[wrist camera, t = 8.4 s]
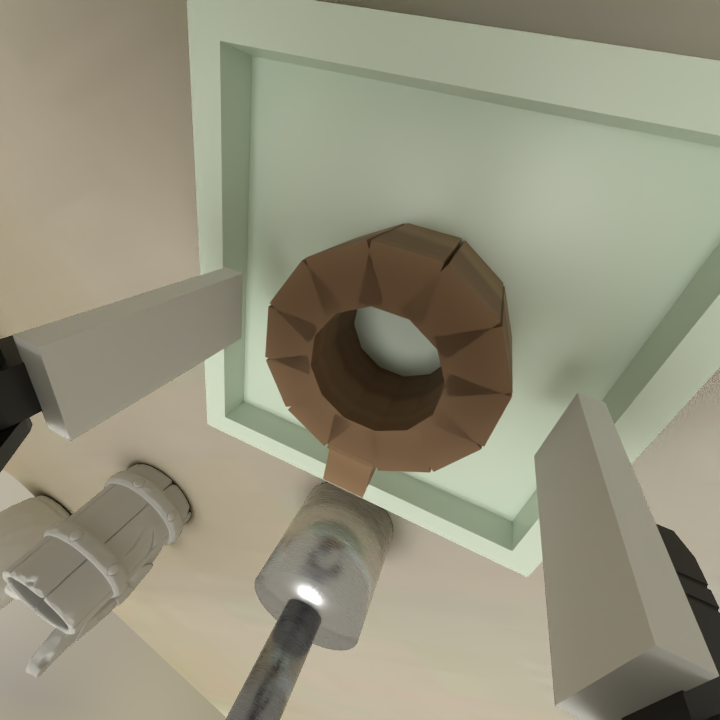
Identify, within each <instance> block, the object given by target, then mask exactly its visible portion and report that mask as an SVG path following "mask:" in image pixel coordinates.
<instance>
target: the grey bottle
mask: <svg viewBox="0 0 720 720" xmlns="http://www.w3.org/2000/svg"><path fill="white" fill-rule="evenodd" d="M392 535H393V526H392V522H391V520H390V517H389V516H388V514H387V512H386V511H385V510H384V509H383V508H381V507H379V506H377V505H375V504H373V503H371V502H369V501H367V500H365V499H363V498H360V497H358V496H356V495H354V494H352V493H350V492H348V491H346V490H344V489H342V488H340V487H337V486H335V485H333V484H331V483H329V482H328V483H323V484H320V485H318V486H316V487H315V488H314V489H313V490H312V491H311V493H310V494H309V496H308V497H307V499H306V501H305V502H304V504H303V505H302V507H301V508H300V510H299V512H298V513H297V515H296V516H295V518H294V520H293V521H292V523H291V524H290V526H289V527H288V529H287V531H286V532H285V534H284V535H283V537H282V538H281V540H280V542H279V543H278V545H277V546H276V548H275V550H274V551H273V553H272V554H271V556H270V557H269V559H268V561H267V562H266V564H265V565H264V567H263V569H262V570H261V572H260V573H259V575H258V576H257V578H256V580H255V591H256V594H257V596H258V598H259V600H260V602H261V603H262V605H263V606H264V607H265V608H266V610H267V611H268V612H269V613H270V614H271V615H272V616H273V617H274V618H275V619H276V620H277V623H276V624H275V626H274V628H273V630H272V632H271V634H270V636H269V638H268V640H267V642H266V644H265V645H264V647H263V649H262V651H261V653H260V655H259V657H258V659H257V661H256V663H255V664H254V666H253V668H252V670H251V672H250V674H249V676H248V678H247V680H246V682H245V684H244V685H243V687H242V689H241V691H240V693H239V695H238V697H237V699H236V701H235V703H234V705H233V706H232V708H231V710H230V712H229V714H228V716H227V718H226V720H280V718H281V716H282V714H283V711H284V709H285V707H286V704H287V702H288V700H289V697H290V695H291V693H292V690H293V688H294V685H295V683H296V681H297V678H298V676H299V674H300V671H301V669H302V667H303V664H304V662H305V660H306V657H307V655H308V652H309V650H310V648H311V645H312V643H313V644H315V645H318V646H321V647H324V648H327V649H332V650H348V649H351V648H353V647H354V646H355V645H356V644H357V642H358V639H359V636H360V633H361V630H362V627H363V624H364V621H365V618H366V615H367V611H368V608H369V605H370V602H371V599H372V596H373V593H374V590H375V587H376V584H377V581H378V578H379V575H380V572H381V569H382V566H383V563H384V560H385V557H386V554H387V551H388V548H389V545H390V542H391V538H392Z"/></svg>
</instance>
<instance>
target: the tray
mask: <svg viewBox="0 0 720 720" xmlns="http://www.w3.org/2000/svg"><path fill="white" fill-rule="evenodd" d="M187 17H188V38H189V58H190V78H191V98H192V118H193V139H194V159H195V179H196V199H197V220H198V240H199V260H200V275H203V274H206V273H209V272H212V271H215V270H218V269H222V268H225V267H226V268H229V269H232V270H235V271H237V272H240V273H243V291H242V338H241V339H239V340H238V341H236V342H234V343H233V344H231V345H229V346H228V347H226V348H224V349H223V350H221V351H219V352H218V353H216V354H214V355H213V356H211V357H209V358H208V359H206V360H204V361H205V381H206V401H207V422H208V425H210V426H212V427H214V428H216V429H218V430H220V431H222V432H225V433H227V434H229V435H231V436H233V437H235V438H237V439H239V440H241V441H243V442H245V443H248V444H250V445H252V446H254V447H256V448H258V449H260V450H262V451H264V452H266V453H268V454H271V455H273V456H275V457H277V458H279V459H281V460H283V461H285V462H287V463H289V464H291V465H294V466H296V467H298V468H300V469H302V470H304V471H306V472H308V473H310V474H312V475H314V476H317V477H319V478H321V479H323V476H324V472H325V467H326V462H327V458H328V453H329V449H328V448H327V446H328V444H326V445H325V446H324V445H323V444H322V443H321V442H320V441H319V440H318V439H317V438H316V437H315V436H314V435H313V434H312V433H311V432H310V431H309V430H308V429H307V428H306V427H305V426H304V425H303V424H302V423H301V422H300V421H299V420H298V419H297V418H296V417H295V416H294V415H293V414H292V413H291V412H290V411H289V410H288V409H289V408H290V407H291V406H290V407H286V406H285V404H284V402H283V399H282V397H281V395H280V392H279V390H278V388H277V385H276V383H275V381H274V378H273V376H272V374H271V371H270V369H269V367H268V364H267V362H266V360H267V359H268V358H267V357H265V351H266V335H267V319H268V306H270V305H271V304H270V302H271V300H272V299H273V298H274V296H275V295H276V294H277V292H278V291H279V290H280V288H281V287H282V286H283V284H284V283H285V282H286V281H287V279H288V278H289V277H290V275H291V274H292V273H293V271H294V270H295V269H296V267H297V266H298V265H299V263H300V262H301V261H302V260H303V259H305V258H306V257H309V256H311V255H314V254H316V253H319V252H321V251H324V250H326V249H329V248H331V247H334V246H336V245H339V244H341V243H344V242H346V241H349V240H351V239H354V238H357V237H360V236H363V235H367V234H370V233H373V232H377V231H380V230H383V229H387V228H390V227H393V226H396V225H400V224H403V223H405V224H407V223H410V224H413V225H417V226H420V227H424V228H427V229H431V230H434V231H438V232H441V233H445V234H448V235H452V236H455V237H459V238H462V240H461V243H460V245H461V244H462V243H463V242H464V241H466V242H467V243H468V244H469V245H470V246H471V247H472V248H473V250H474V251H475V252H476V253H477V254H478V255H479V256H480V257H481V258H482V260H483V261H484V262H485V263H486V264H487V265H488V266H489V267H490V269H491V270H492V271H493V272H494V273H495V274H496V275H497V276H498V278H499V279H500V280H501V281H502V282H503V286H505V291H506V298H507V305H508V312H509V319H510V326H511V333H512V375H513V393H512V398H511V400H510V402H509V403H508V405H507V407H506V409H505V411H504V412H503V414H502V416H501V418H500V419H499V421H498V423H497V425H496V427H495V428H494V430H493V432H492V434H491V436H490V437H489V439H488V441H487V443H486V445H485V446H482V449H481V450H479V451H477V452H475V453H472V454H470V455H468V456H466V457H464V458H462V459H460V460H458V461H456V462H454V463H452V464H449V465H447V466H445V467H443V468H441V469H439V470H437V471H435V472H434V471H433V470H432V469H431V472H430V473H428V472H402V471H378V469H377V468H376V470H375V472H374V474H373V476H372V478H371V481H370V483H369V485H368V487H367V489H366V491H365V494H364V496H363V499H365V500H367V501H369V502H371V503H373V504H375V505H377V506H379V507H381V508H383V509H386V510H388V511H390V512H392V513H394V514H396V515H398V516H400V517H402V518H404V519H406V520H409V521H411V522H413V523H415V524H417V525H419V526H421V527H423V528H425V529H427V530H429V531H432V532H434V533H436V534H438V535H440V536H442V537H444V538H446V539H448V540H450V541H452V542H454V543H457V544H459V545H461V546H463V547H465V548H467V549H469V550H471V551H473V552H475V553H477V554H480V555H482V556H484V557H486V558H488V559H490V560H492V561H494V562H496V563H498V564H500V565H503V566H505V567H507V568H509V569H511V570H513V571H515V572H517V573H519V574H521V575H523V576H526V577H528V576H529V575H530V574H531V573H532V572H533V571H534V569H535V568H536V567H537V566H538V565H539V564H540V563H541V562H542V561H543V558H542V546H541V534H540V522H539V510H538V498H537V486H536V474H535V462H534V455H535V454H536V452H537V451H538V450H539V448H540V447H541V445H542V444H543V442H544V441H545V439H546V438H547V436H548V435H549V433H550V432H551V430H552V429H553V428H554V426H555V425H556V423H557V422H558V420H559V419H560V417H561V416H562V414H563V413H564V411H565V410H566V408H567V407H568V406H569V404H570V403H571V401H572V400H573V398H574V397H575V395H576V394H577V393H580V394H583V395H586V396H589V397H591V398H594V399H597V400H600V401H603V402H605V404H606V406H607V408H608V411H609V413H610V415H611V418H612V420H613V423H614V425H615V427H616V430H617V432H618V435H619V437H620V439H621V442H622V444H623V447H624V449H625V451H626V454H627V456H628V458H629V461H630V463H631V464H632V463H633V462H634V460H635V459H636V458H637V457H638V456H639V455H640V454H641V453H642V452H643V451H644V450H645V449H646V447H647V446H648V445H649V444H650V443H651V442H652V441H653V440H654V439H655V438H656V437H657V435H658V434H659V433H660V432H661V431H662V430H663V429H664V428H665V427H666V426H667V425H668V423H669V422H670V421H671V420H672V419H673V418H674V417H675V416H676V415H677V414H678V413H679V411H680V410H681V409H682V408H683V407H684V406H685V405H686V404H687V403H688V402H689V401H690V399H691V398H692V397H693V396H694V395H695V394H696V393H697V392H698V391H699V390H700V389H701V387H702V386H703V385H704V384H705V383H706V382H707V381H708V380H709V379H710V378H711V377H712V376H713V374H714V373H715V372H716V371H717V370H718V369H719V368H720V61H719V60H712V59H705V58H698V57H692V56H685V55H678V54H671V53H665V52H658V51H651V50H645V49H638V48H631V47H624V46H618V45H611V44H604V43H598V42H591V41H584V40H577V39H571V38H564V37H557V36H551V35H544V34H537V33H530V32H524V31H517V30H510V29H504V28H497V27H490V26H483V25H477V24H470V23H463V22H457V21H450V20H443V19H436V18H430V17H423V16H416V15H410V14H403V13H396V12H389V11H383V10H376V9H369V8H363V7H356V6H349V5H342V4H336V3H329V2H322V1H316V0H187ZM354 325H355V329H356V332H357V335H358V338H359V341H360V344H361V348H362V349H363V350H364V351H365V352H366V353H367V354H368V355H369V356H370V358H371V359H372V360H373V361H374V362H375V363H376V364H377V365H378V366H379V367H381V368H383V369H386V370H389V371H391V372H394V373H396V374H399V375H402V376H415V375H426V374H431V373H432V372H434V371H435V370H436V369H438V368H439V367H441V364H440V360H439V355H438V351H437V349H436V348H435V347H434V346H433V345H432V343H431V342H430V341H429V340H428V339H427V338H426V337H425V336H424V335H423V334H422V333H421V332H420V331H419V330H418V328H417V327H416V326H415V325H414V324H413V323H412V322H411V321H410V320H409V319H406V318H403V317H400V316H397V315H395V314H392V313H389V312H386V311H383V310H380V309H377V308H374V307H372V306H370V307H365V308H360V309H357V313H356V318H355V322H354ZM323 480H324V479H323ZM325 481H326V480H325ZM327 482H328V481H327ZM329 483H330V482H329ZM331 484H332V483H331ZM333 485H334V484H333ZM335 486H336V485H335ZM337 487H338V486H337ZM340 488H341V487H340ZM342 489H343V488H342ZM344 490H345V489H344ZM346 491H347V490H346ZM348 492H349V491H348ZM350 493H351V492H350ZM352 494H353V493H352ZM354 495H355V494H354ZM356 496H357V495H356ZM358 497H359V496H358ZM360 498H361V497H360Z"/></svg>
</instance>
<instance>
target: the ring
mask: <svg viewBox="0 0 720 720" xmlns="http://www.w3.org/2000/svg"><path fill="white" fill-rule="evenodd" d="M461 240H462V238H459V237H455V236H452V235H448V234H445V233H441V232H438V231H434V230H431V229H427V228H424V227H420V226H417V225H413V224H410V223H407V224H405V223H403V224H400V225H396V226H393V227H390V228H387V229H383V230H380V231H377V232H373V233H370V234H367V235H363V236H360V237H357V238H354V239H351V240H349V241H346V242H344V243H341V244H339V245H336V246H334V247H331V248H329V249H326V250H324V251H321V252H319V253H316V254H314V255H311V256H309V257H306V258H305V259H303V260H302V261H301V262H300V263H299V265H298V266H297V267H296V269H295V270H294V271H293V273H292V274H291V275H290V277H289V278H288V279H287V281H286V282H285V283H284V284H283V286H282V287H281V288H280V290H279V291H278V292H277V294H276V295H275V296H274V298H273V299H272V300H271V302H270V304H271V305H270V306H268V319H267V335H266V351H265V357H267V358H268V359H267V360H266V362H267V364H268V367H269V369H270V371H271V374H272V376H273V378H274V381H275V383H276V385H277V388H278V390H279V392H280V395H281V397H282V399H283V402H284V404H285V406H286V407H290V406H291V407H290V408H289V409H288V410H289V411H290V412H291V413H292V414H293V415H294V416H295V417H296V418H297V419H298V420H299V421H300V422H301V423H302V424H303V425H304V426H305V427H306V428H307V429H308V430H309V431H310V432H311V433H312V434H313V435H314V436H315V437H316V438H317V439H318V440H319V441H320V442H321V443H322V444H323V445H324V446H325V445H326V444H328V446H327V448H328V449H329V453H328V458H327V462H326V467H325V472H324V476H323V479H324V480H326V481H328V482H330V483H332V484H334V485H336V486H338V487H341V488H343V489H345V490H347V491H349V492H351V493H353V494H355V495H357V496H359V497H361V498H363V496H364V494H365V491H366V489H367V487H368V485H369V483H370V481H371V478H372V476H373V474H374V472H375V470H376V468H377V469H378V471H402V472H428V473H430V472H431V469H432V470H433V471H434V472H435V471H437V470H439V469H441V468H443V467H445V466H447V465H449V464H452V463H454V462H456V461H458V460H460V459H462V458H464V457H466V456H468V455H470V454H472V453H475V452H477V451H479V450H481V449H482V446H485V445H486V443H487V441H488V439H489V437H490V436H491V434H492V432H493V430H494V428H495V427H496V425H497V423H498V421H499V419H500V418H501V416H502V414H503V412H504V411H505V409H506V407H507V405H508V403H509V402H510V400H511V398H512V393H513V375H512V333H511V326H510V319H509V312H508V305H507V298H506V291H505V286H503V282H502V281H501V280H500V279H499V278H498V276H497V275H496V274H495V273H494V272H493V271H492V270H491V269H490V267H489V266H488V265H487V264H486V263H485V262H484V261H483V260H482V258H481V257H480V256H479V255H478V254H477V253H476V252H475V251H474V250H473V248H472V247H471V246H470V245H469V244H468V243H467V242H466V241H464V242H463V243H462V244H461V245H460V243H461ZM370 306H372V307H374V308H377V309H380V310H383V311H386V312H389V313H392V314H395V315H397V316H400V317H403V318H406V319H409V320H410V321H411V322H412V323H413V324H414V325H415V326H416V327H417V328H418V330H419V331H420V332H421V333H422V334H423V335H424V336H425V337H426V338H427V339H428V340H429V341H430V342H431V343H432V345H433V346H434V347H435V348H436V349H437V351H438V355H439V360H440V364H441V367H439V368H438V369H436V370H435V371H434V372H432V373H431V374H426V375H415V376H402V375H399V374H396V373H394V372H391V371H389V370H386V369H383V368H381V367H379V366H378V365H377V364H376V363H375V362H374V361H373V360H372V359H371V358H370V356H369V355H368V354H367V353H366V352H365V351H364V350H363V349H362V348H361V344H360V341H359V338H358V335H357V332H356V329H355V325H354V322H355V318H356V313H357V309H360V308H365V307H370Z"/></svg>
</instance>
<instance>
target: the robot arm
mask: <svg viewBox="0 0 720 720" xmlns="http://www.w3.org/2000/svg"><path fill="white" fill-rule="evenodd" d="M242 291H243V273H240V272H237V271H235V270H232V269H229V268H226V267H225V268H222V269H218V270H215V271H212V272H209V273H206V274H203V275H200V276H196V277H193V278H190V279H187V280H184V281H181V282H178V283H174V284H171V285H168V286H165V287H162V288H159V289H156V290H153V291H149V292H146V293H143V294H140V295H137V296H134V297H131V298H127V299H124V300H121V301H118V302H115V303H112V304H109V305H105V306H102V307H99V308H96V309H93V310H90V311H87V312H83V313H80V314H77V315H74V316H71V317H68V318H65V319H61V320H58V321H55V322H52V323H49V324H46V325H43V326H40V327H36V328H33V329H30V330H27V331H24V332H21V333H18V334H14V335H12V336H9V337H5V338H2V339H0V472H1V471H2V469H3V468H4V466H5V465H6V464H7V462H8V461H9V460H10V458H11V457H12V455H13V454H14V453H15V451H16V450H17V449H18V447H19V446H20V444H21V443H22V442H23V440H24V439H25V438H26V436H27V435H28V433H29V432H30V430H31V427H32V422H31V420H30V418H29V417H31V416H33V415H35V414H37V413H39V412H41V411H42V413H43V416H44V418H45V421H46V423H47V426H48V428H49V429H50V430H52V431H54V432H55V433H57V434H59V435H61V436H63V437H65V438H66V439H68V440H70V441H71V440H73V439H75V438H76V437H78V436H80V435H81V434H83V433H85V432H86V431H88V430H90V429H91V428H93V427H95V426H96V425H98V424H100V423H101V422H103V421H105V420H106V419H108V418H110V417H111V416H113V415H115V414H116V413H118V412H120V411H121V410H123V409H125V408H126V407H128V406H130V405H131V404H133V403H135V402H136V401H138V400H140V399H141V398H143V397H145V396H146V395H148V394H150V393H151V392H153V391H155V390H156V389H158V388H160V387H161V386H163V385H165V384H166V383H168V382H170V381H171V380H173V379H175V378H176V377H178V376H180V375H181V374H183V373H185V372H186V371H188V370H189V369H191V368H193V367H194V366H196V365H198V364H199V363H201V362H203V361H204V360H206V359H208V358H209V357H211V356H213V355H214V354H216V353H218V352H219V351H221V350H223V349H224V348H226V347H228V346H229V345H231V344H233V343H234V342H236V341H238V340H239V339H241V338H242ZM534 462H535V474H536V486H537V498H538V510H539V522H540V534H541V546H542V558H543V570H544V581H545V593H546V605H547V617H548V629H549V641H550V653H551V665H552V677H553V689H554V701H555V706H557V707H558V708H560V709H562V710H564V711H566V712H567V713H569V714H571V715H573V716H575V717H577V718H578V719H580V720H720V613H719V612H718V609H719V606H718V604H717V602H716V600H715V598H714V596H713V594H712V592H711V590H709V589H707V585H708V584H707V581H706V579H705V577H704V575H703V573H702V571H701V569H700V567H699V565H698V563H697V561H696V559H695V557H694V556H693V555H692V553H691V552H690V551H689V550H688V548H687V547H686V546H685V545H684V543H683V542H682V541H681V540H680V539H679V537H678V536H677V535H676V534H675V532H674V531H672V530H670V529H667V528H665V527H662V526H660V525H658V524H656V523H655V521H654V518H653V516H652V513H651V511H650V509H649V506H648V504H647V502H646V499H645V497H644V494H643V492H642V490H641V487H640V485H639V482H638V480H637V478H636V475H635V473H634V470H633V468H632V466H631V463H630V461H629V458H628V456H627V454H626V451H625V449H624V447H623V444H622V442H621V439H620V437H619V435H618V432H617V430H616V427H615V425H614V423H613V420H612V418H611V415H610V413H609V411H608V408H607V406H606V404H605V402H603V401H600V400H597V399H594V398H591V397H589V396H586V395H583V394H580V393H577V394H576V395H575V397H574V398H573V400H572V401H571V403H570V404H569V406H568V407H567V408H566V410H565V411H564V413H563V414H562V416H561V417H560V419H559V420H558V422H557V423H556V425H555V426H554V428H553V429H552V430H551V432H550V433H549V435H548V436H547V438H546V439H545V441H544V442H543V444H542V445H541V447H540V448H539V450H538V451H537V452H536V454H535V455H534Z"/></svg>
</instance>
